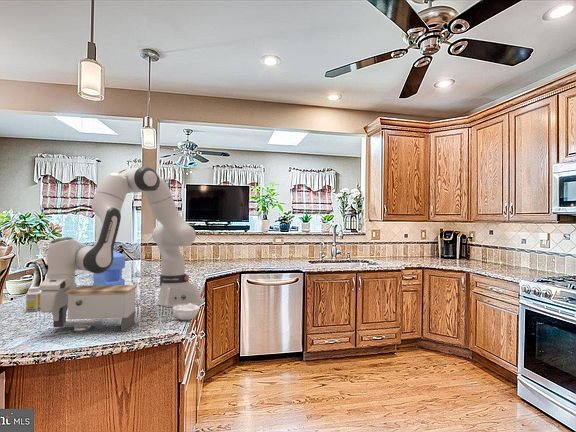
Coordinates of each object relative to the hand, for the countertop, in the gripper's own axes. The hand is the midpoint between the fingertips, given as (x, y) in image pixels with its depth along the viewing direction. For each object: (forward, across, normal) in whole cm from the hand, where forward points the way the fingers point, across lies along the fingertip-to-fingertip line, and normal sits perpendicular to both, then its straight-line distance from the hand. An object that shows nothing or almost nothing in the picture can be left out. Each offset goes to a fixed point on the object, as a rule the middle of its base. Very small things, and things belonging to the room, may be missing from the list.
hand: (59, 318), depth 128 cm
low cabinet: (+4, +1, +15) cm, 16 cm away
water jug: (+4, -65, -4) cm, 65 cm away
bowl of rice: (+4, -8, +44) cm, 45 cm away
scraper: (+3, 0, +6) cm, 7 cm away
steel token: (+4, +3, +9) cm, 10 cm away
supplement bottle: (+4, -30, -24) cm, 38 cm away
